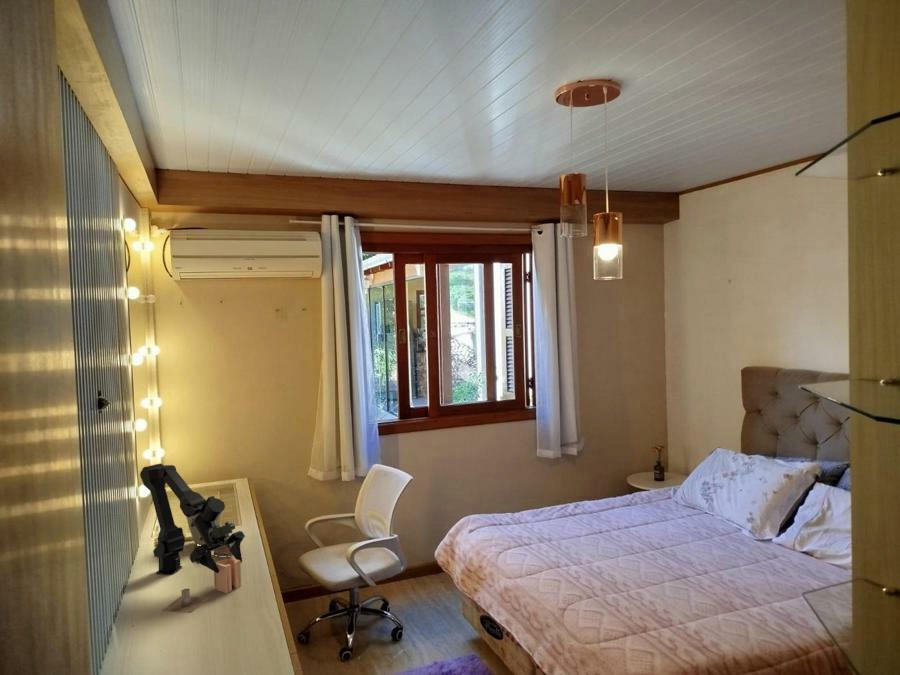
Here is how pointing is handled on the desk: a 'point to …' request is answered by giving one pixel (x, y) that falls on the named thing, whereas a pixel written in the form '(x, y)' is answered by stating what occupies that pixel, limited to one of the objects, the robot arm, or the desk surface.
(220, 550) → the perfume bottle
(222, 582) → the c link
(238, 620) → the desk surface
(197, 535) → the plant pot
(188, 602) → the stand
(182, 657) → the desk surface
